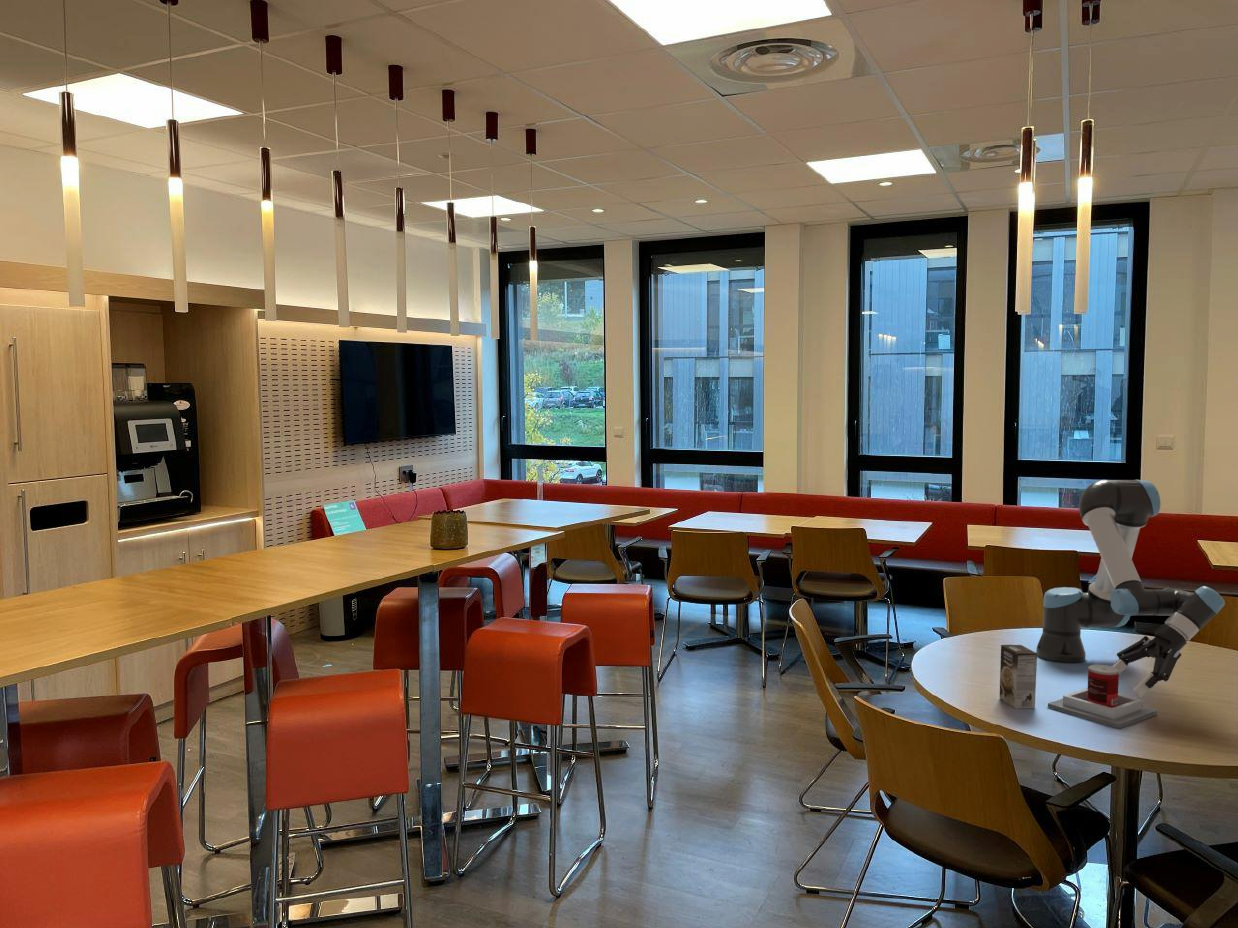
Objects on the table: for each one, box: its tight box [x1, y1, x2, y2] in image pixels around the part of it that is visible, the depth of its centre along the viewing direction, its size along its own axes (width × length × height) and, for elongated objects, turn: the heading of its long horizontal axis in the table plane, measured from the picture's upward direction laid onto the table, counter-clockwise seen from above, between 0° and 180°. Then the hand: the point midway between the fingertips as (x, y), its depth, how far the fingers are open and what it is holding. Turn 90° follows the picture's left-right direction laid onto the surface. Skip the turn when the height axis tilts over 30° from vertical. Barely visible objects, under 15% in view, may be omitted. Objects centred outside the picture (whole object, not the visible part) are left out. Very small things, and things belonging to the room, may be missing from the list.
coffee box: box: [999, 644, 1038, 709], centre depth 260 cm, size 9×6×16 cm
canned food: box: [1087, 664, 1120, 708], centre depth 254 cm, size 8×8×11 cm
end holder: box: [1047, 687, 1158, 730], centre depth 254 cm, size 20×20×4 cm
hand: (1121, 686), depth 254 cm, fingers open, 13 cm apart
